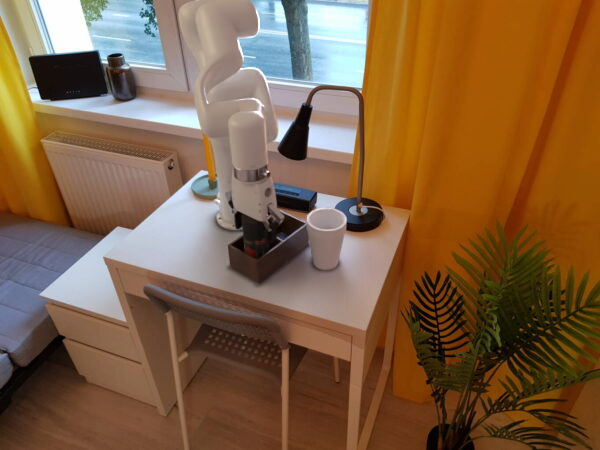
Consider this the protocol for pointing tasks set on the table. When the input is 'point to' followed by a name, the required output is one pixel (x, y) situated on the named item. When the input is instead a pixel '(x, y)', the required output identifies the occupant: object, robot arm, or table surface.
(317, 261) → the foam cup
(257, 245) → the deodorant
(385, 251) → the table surface
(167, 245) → the table surface
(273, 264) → the organiser
